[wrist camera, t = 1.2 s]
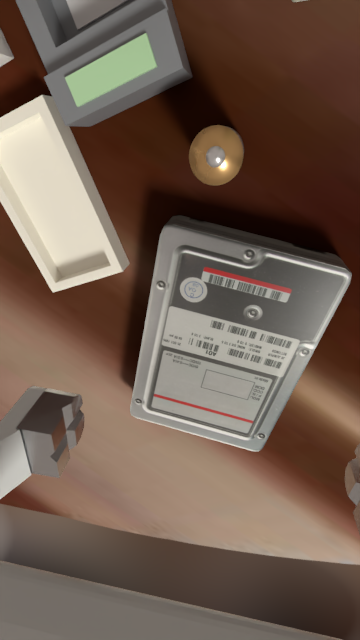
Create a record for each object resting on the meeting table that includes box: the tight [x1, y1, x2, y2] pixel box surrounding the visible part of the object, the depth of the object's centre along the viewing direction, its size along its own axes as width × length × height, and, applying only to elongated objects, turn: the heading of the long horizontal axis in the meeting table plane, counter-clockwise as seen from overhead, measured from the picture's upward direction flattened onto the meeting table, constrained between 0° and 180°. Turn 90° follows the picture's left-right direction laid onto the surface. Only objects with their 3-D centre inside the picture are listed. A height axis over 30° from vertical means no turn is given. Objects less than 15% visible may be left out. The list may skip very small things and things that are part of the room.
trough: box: [0, 95, 130, 292], centre depth 35 cm, size 10×17×2 cm, turn 20°
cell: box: [189, 125, 244, 185], centre depth 27 cm, size 4×4×8 cm
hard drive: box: [130, 215, 352, 451], centre depth 39 cm, size 18×27×4 cm
